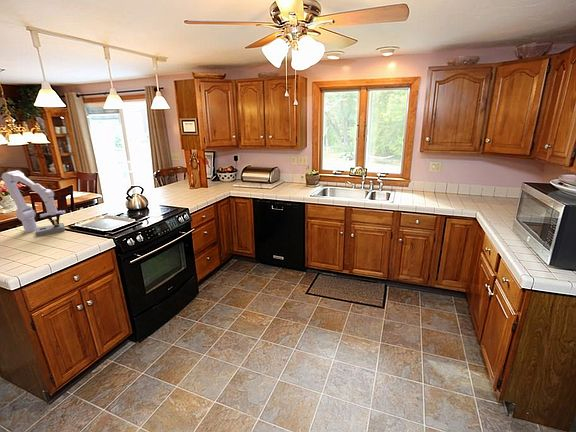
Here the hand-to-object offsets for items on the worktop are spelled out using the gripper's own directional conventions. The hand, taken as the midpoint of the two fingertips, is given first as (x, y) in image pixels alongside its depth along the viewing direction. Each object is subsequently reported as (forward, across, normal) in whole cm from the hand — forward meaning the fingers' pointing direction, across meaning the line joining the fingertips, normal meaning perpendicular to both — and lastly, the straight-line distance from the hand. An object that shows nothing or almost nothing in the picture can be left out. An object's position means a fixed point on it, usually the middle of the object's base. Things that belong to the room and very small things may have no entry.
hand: (56, 224), depth 217 cm
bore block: (+4, -4, 0) cm, 6 cm away
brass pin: (+2, 0, 0) cm, 2 cm away
